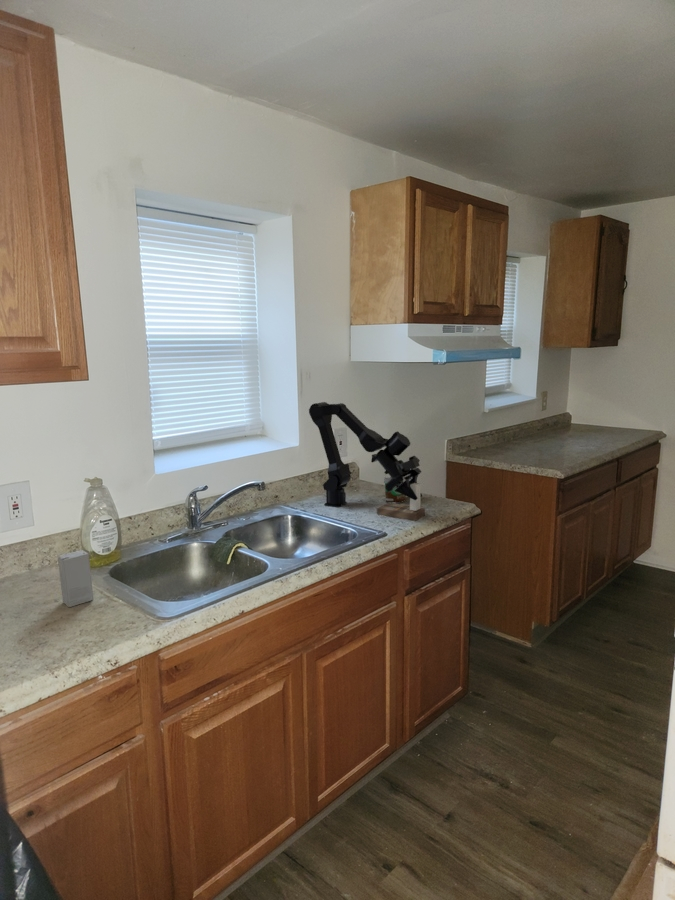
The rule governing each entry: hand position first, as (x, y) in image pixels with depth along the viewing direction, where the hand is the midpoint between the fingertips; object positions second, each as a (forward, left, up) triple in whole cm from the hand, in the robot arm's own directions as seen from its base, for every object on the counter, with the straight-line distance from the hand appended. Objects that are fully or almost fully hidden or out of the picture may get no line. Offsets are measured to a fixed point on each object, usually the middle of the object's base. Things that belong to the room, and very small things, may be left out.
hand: (418, 498), depth 207 cm
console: (-7, +1, -7) cm, 10 cm away
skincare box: (-51, -100, -7) cm, 113 cm away
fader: (-1, 0, -4) cm, 4 cm away
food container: (-14, +18, -7) cm, 24 cm away
